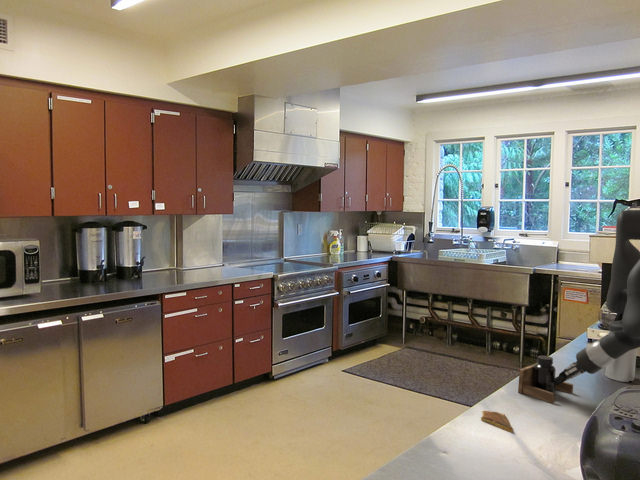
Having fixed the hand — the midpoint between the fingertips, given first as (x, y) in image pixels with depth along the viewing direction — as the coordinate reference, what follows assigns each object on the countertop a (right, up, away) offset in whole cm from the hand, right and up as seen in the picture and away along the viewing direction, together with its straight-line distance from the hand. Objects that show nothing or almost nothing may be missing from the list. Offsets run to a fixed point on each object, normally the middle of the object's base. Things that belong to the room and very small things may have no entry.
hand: (554, 382), depth 167 cm
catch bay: (-1, -4, +2) cm, 5 cm away
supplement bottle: (-3, -4, +3) cm, 6 cm away
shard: (-25, -6, -20) cm, 33 cm away
